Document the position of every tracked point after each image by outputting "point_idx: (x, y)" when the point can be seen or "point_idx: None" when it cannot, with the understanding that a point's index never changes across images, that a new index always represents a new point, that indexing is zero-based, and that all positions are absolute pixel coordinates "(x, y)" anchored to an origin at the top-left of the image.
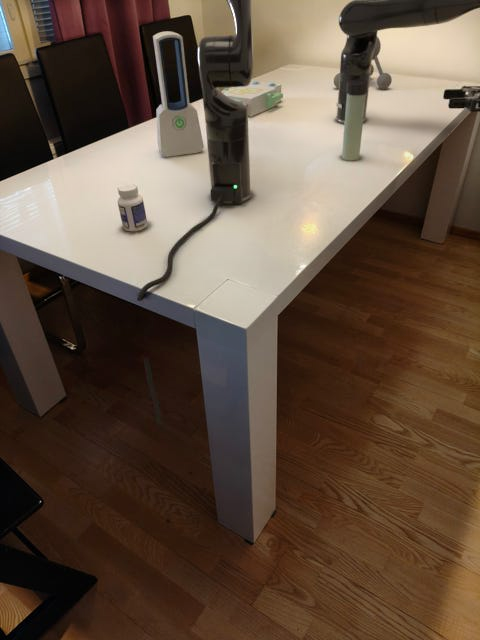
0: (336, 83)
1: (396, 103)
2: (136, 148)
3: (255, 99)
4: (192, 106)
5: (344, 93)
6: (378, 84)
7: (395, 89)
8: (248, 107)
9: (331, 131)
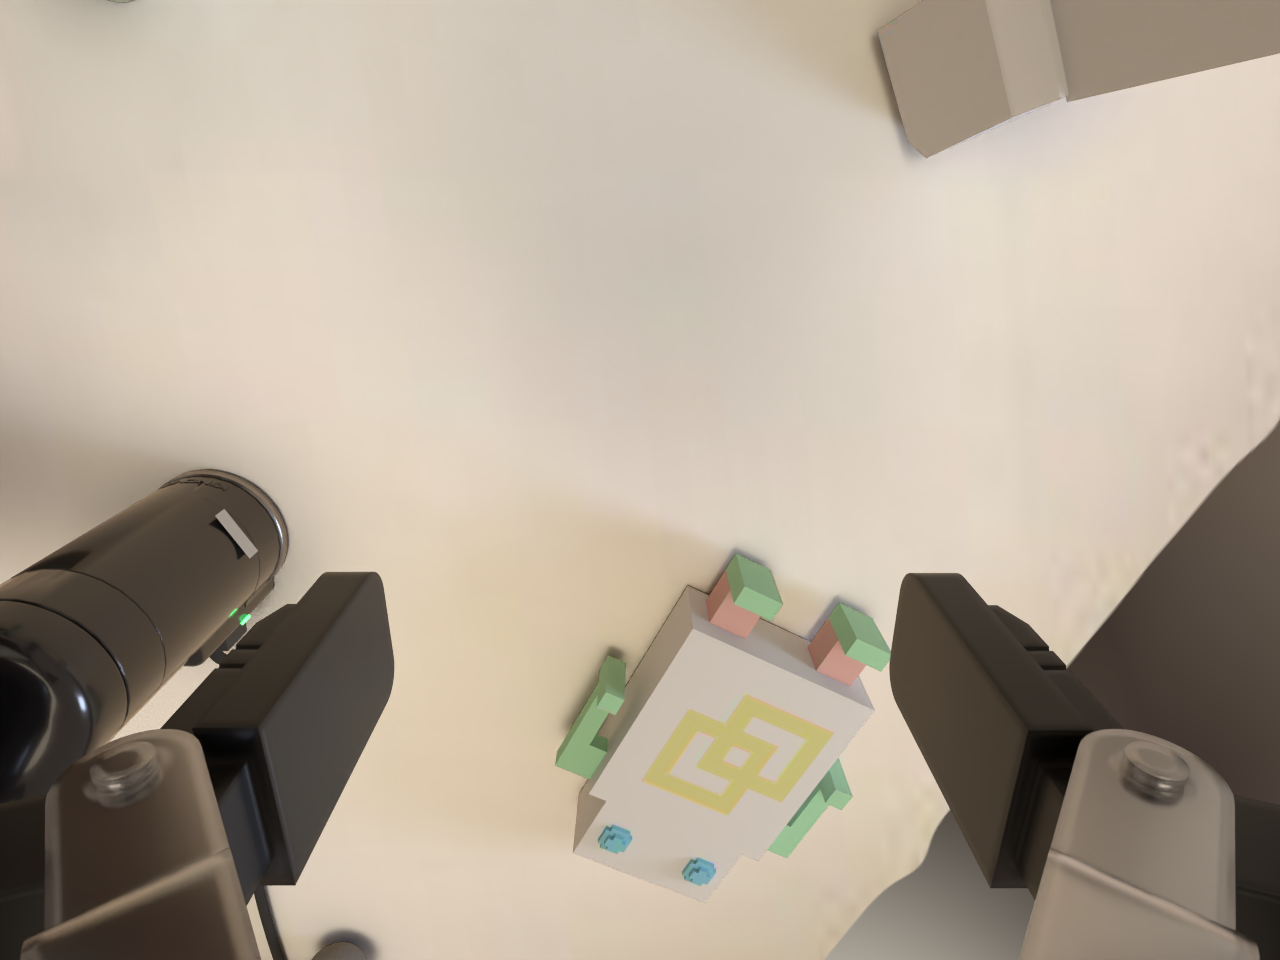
0: (352, 956)
1: None
2: (1238, 102)
3: (673, 651)
4: (1014, 1)
5: (174, 541)
6: None
7: None
8: (705, 613)
9: (281, 371)
